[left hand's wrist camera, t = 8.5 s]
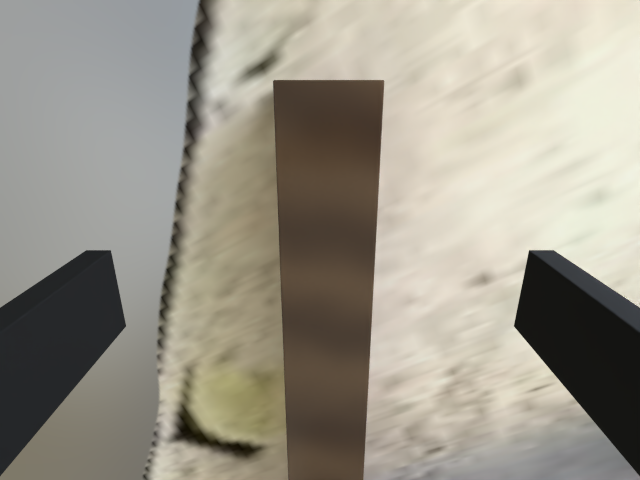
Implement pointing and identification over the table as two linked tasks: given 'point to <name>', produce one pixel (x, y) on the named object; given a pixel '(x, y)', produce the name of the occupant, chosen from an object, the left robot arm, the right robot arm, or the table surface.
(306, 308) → the beam
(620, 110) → the table surface
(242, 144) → the table surface
